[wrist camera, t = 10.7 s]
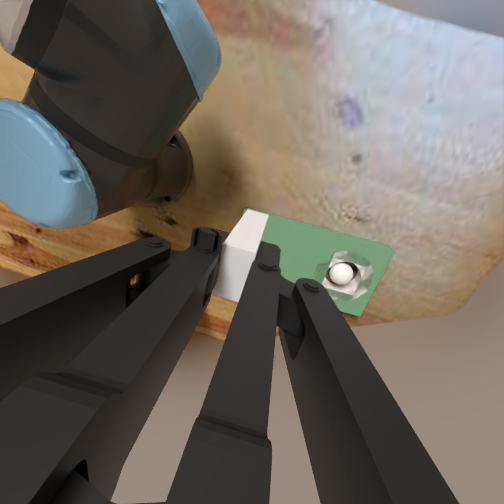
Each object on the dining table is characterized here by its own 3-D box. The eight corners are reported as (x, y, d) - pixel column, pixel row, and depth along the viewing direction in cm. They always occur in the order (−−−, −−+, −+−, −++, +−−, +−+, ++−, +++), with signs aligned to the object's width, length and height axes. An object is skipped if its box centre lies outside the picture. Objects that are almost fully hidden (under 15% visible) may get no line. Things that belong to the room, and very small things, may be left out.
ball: (325, 278, 42) (349, 281, 40) (328, 258, 44) (352, 259, 41) (330, 286, 45) (353, 288, 43) (334, 266, 47) (356, 268, 44)
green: (231, 273, 49) (228, 279, 47) (245, 207, 43) (243, 210, 41) (356, 308, 48) (360, 316, 46) (389, 245, 42) (394, 251, 40)
